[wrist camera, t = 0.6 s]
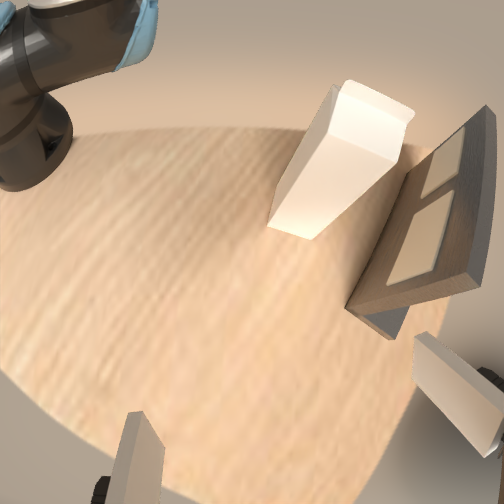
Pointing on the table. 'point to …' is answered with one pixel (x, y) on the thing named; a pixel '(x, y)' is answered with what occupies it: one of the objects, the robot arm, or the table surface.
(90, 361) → the table surface
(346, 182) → the milk
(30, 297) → the table surface
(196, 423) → the table surface
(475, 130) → the label panel
